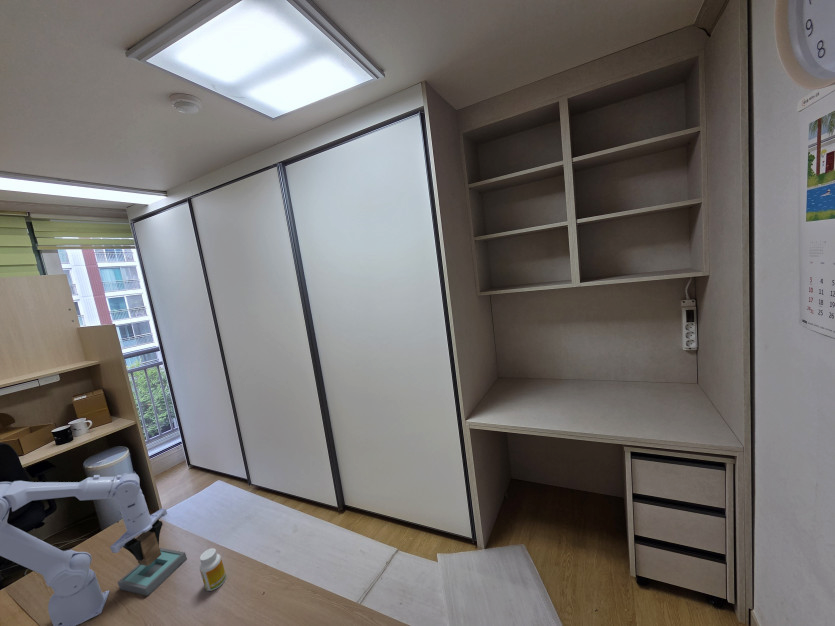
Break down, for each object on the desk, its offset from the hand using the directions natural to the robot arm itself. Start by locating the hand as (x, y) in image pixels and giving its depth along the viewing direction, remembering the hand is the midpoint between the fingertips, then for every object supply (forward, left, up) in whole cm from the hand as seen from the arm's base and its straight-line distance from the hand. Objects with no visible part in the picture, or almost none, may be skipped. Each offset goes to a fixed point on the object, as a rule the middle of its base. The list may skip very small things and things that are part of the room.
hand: (148, 552), depth 102 cm
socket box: (0, 0, -8) cm, 8 cm away
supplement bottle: (+17, -17, -8) cm, 25 cm away
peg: (0, 0, -2) cm, 2 cm away
